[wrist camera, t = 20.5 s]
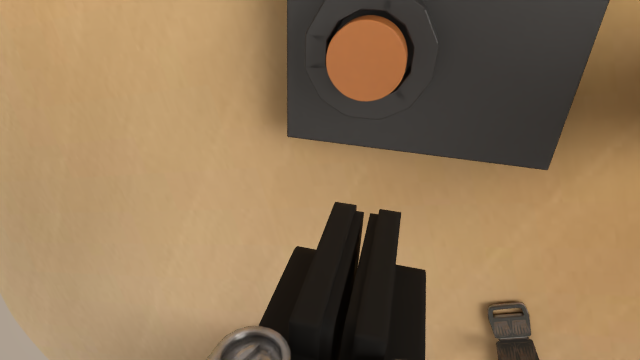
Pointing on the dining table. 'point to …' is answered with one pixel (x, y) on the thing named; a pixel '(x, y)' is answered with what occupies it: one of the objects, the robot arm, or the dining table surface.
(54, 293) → the dining table surface
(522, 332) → the strap clip
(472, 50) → the grey push button box
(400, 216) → the robot arm
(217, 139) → the dining table surface
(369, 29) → the button
